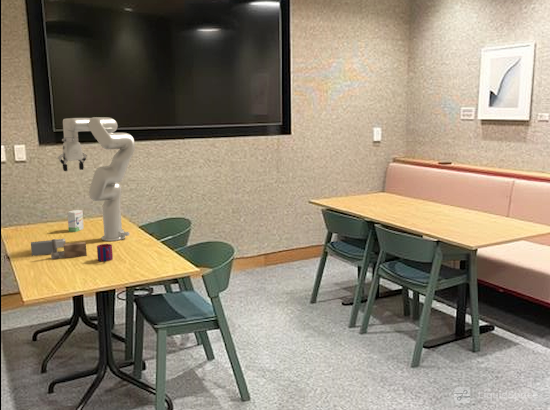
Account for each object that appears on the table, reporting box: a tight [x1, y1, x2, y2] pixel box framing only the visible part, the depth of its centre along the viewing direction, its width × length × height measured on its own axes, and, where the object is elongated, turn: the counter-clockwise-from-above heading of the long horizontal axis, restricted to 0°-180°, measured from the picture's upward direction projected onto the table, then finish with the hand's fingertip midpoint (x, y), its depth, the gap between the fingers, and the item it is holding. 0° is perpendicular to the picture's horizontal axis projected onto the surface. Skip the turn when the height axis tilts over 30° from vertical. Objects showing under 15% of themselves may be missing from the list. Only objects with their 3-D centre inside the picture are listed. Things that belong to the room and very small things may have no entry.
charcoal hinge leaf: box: [30, 238, 67, 257], centre depth 259 cm, size 16×6×6 cm, turn 113°
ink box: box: [67, 209, 84, 233], centre depth 310 cm, size 9×5×12 cm, turn 168°
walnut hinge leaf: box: [50, 238, 87, 260], centre depth 252 cm, size 16×4×9 cm, turn 113°
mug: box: [96, 243, 114, 262], centre depth 245 cm, size 7×10×7 cm
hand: (73, 170), depth 300 cm, fingers open, 9 cm apart
